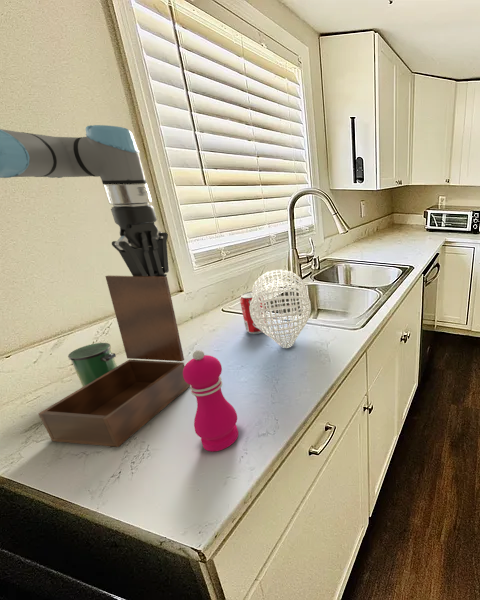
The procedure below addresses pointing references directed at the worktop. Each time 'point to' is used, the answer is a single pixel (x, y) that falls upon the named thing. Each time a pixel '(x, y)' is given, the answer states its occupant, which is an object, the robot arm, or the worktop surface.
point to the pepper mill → (210, 403)
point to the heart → (257, 313)
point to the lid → (145, 317)
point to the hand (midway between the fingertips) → (161, 304)
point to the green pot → (92, 361)
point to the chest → (115, 403)
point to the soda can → (248, 320)
